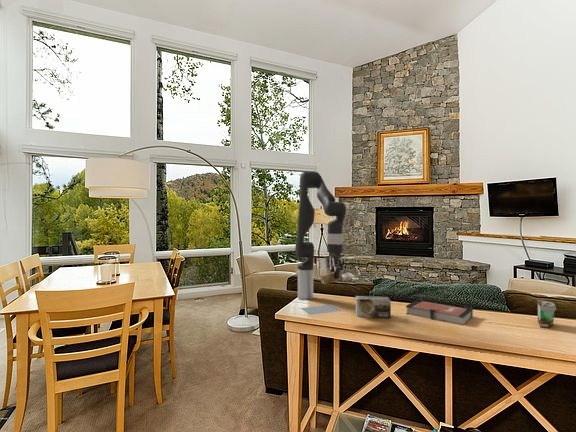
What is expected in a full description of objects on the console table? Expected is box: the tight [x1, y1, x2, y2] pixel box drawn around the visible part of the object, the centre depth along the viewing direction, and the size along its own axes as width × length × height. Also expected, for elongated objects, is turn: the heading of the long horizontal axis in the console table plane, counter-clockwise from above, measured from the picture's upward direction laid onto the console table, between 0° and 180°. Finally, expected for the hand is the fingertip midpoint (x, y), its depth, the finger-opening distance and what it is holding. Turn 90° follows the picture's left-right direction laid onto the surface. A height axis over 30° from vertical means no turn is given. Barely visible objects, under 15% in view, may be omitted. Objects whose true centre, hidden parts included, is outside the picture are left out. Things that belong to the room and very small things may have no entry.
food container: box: [537, 299, 557, 329], centre depth 148 cm, size 12×6×10 cm, turn 148°
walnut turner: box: [319, 270, 356, 285], centre depth 162 cm, size 16×7×4 cm, turn 112°
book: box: [405, 298, 474, 326], centre depth 164 cm, size 26×18×5 cm
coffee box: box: [355, 295, 392, 319], centre depth 163 cm, size 9×6×16 cm
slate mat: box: [300, 304, 342, 316], centre depth 172 cm, size 12×18×1 cm, turn 112°
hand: (334, 278), depth 162 cm, fingers closed on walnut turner, 3 cm apart
